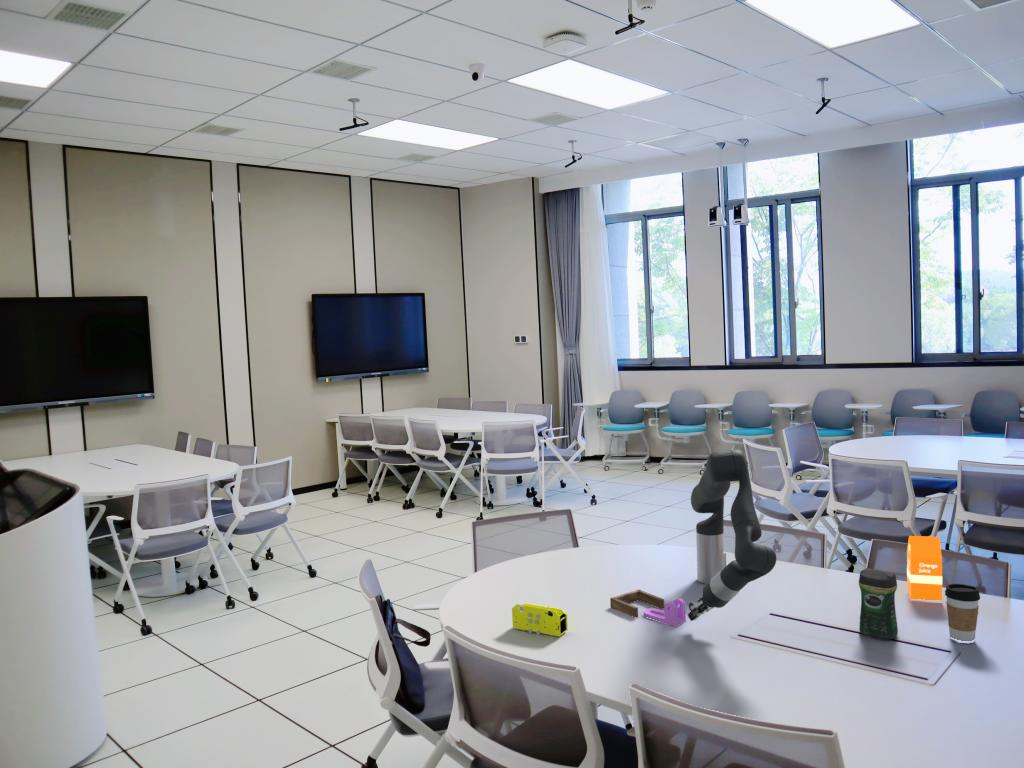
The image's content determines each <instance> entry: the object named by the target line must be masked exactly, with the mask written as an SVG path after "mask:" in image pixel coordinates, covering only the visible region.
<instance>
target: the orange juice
mask: <svg viewBox="0 0 1024 768" xmlns="http://www.w3.org/2000/svg"><path fill="white" fill-rule="evenodd" d="M940 539H941V538H940V536H927V535H926V536H923V535H909V536H908V541H907V549H906V592H907V591H908V593H909V595H910V598H911V599H922V600H923V599H925V600H942V601H943V555H942V546H941V540H940ZM910 598H909V599H910Z"/></svg>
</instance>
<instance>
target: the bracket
mask: <svg viewBox="0 0 1024 768" xmlns="http://www.w3.org/2000/svg"><path fill="white" fill-rule="evenodd" d="M686 605H687V604H686V602H685V600H684V598H681V597H677V598H675V599H674V600H673V601H669V602H666V603H664V609H660V608H656V607H655V608H654V607H651V608H646V609H644V610H643V616H644V618H646V617H648V618H647V619H649V618H651V619H650V620H652V619H654V620H653V621H655V620H657V621H656V622H658V621H660V622H659V623H661V622H663V623H662V624H665V623H666V624H665V625H668V624H669V626H671V625H672V626H671V627H674V626H676V627H677V625H678V626H680V625H681V623H682V624H683V622H684V623H686V622H687V616H686V615H687V612H686V611H687V610H686V609H687V608H686ZM685 621H686V622H685ZM679 624H680V625H679Z"/></svg>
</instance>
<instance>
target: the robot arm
mask: <svg viewBox="0 0 1024 768" xmlns="http://www.w3.org/2000/svg"><path fill="white" fill-rule="evenodd" d="M704 469H705V470H704V471H703V474H702V475H701V478H699V479H700V480H699V482H698V484H697V485H696V486H695V487H694V488H693V489H692V491H691V496H690V504H691V507H692V510H693V511H694V512H695V513H698V514H711V516H709V517H708V518H706V519H703V520H701V521H699V522H697V523H696V526H695V533H696V534H695V537H696V572H697V574H696V575H697V576H696V577H697V582H699V583H701V584H704V585H703V588H702V595H700V596H699V598H698V599H697V600H696V602H695V603H694V602H689V604H688V608H689V613H688V614H687V617H688V619H689V620H690V621H691V622H692V621H695V620H697V619H698V618H699V617H700V616H701V615H704V614H705V613H709V612H710V611H712V610H713V609H714V608H716V609H717V608H718V609H720V608H724V607H725V606H726V605H728V603H729V602H730V601H731V600H733V599H734V597H736V596H737V595H738V594H739V592H740V591H741V590H742V589H743V588H744V587H746V585H748V584H749V583H750V582H753V581H756V580H758V579H759V578H763V577H765V576H766V575H767V574H769V573H770V572H772V571H773V569H774V568H775V565H776V563H777V554H776V552H775V550H774V549H773V548H772V547H770V546H768V545H763V544H759V543H755V542H757V541H758V540H760V539H761V537H762V533H763V532H762V528H761V524H760V521H759V518H758V515H757V511H756V508H755V502H754V497H753V491H752V489H753V488H752V484H751V478H750V472H749V466H748V461H747V459H746V456H745V453H743V451H742V450H740V449H730V450H721V451H719V450H718V451H714V452H711V453H710V454H709V456H708V457H707V460H706V465H705V468H704ZM732 482H738V489H737V490H738V491H737V494H736V496H735V498H734V500H733V501H732V504H731V508H730V521H731V524H732V528H733V530H734V536H735V537H734V559H735V560H732V561H730V562H729V563H727V553H726V552H725V539H724V538H725V535H724V534H725V533H724V531H725V530H724V529H725V528H724V522H725V521H724V512H725V511H724V510H725V509H724V508H725V507H724V506H725V497H726V495H727V493H728V492H729V490H730V487H731V483H732Z"/></svg>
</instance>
